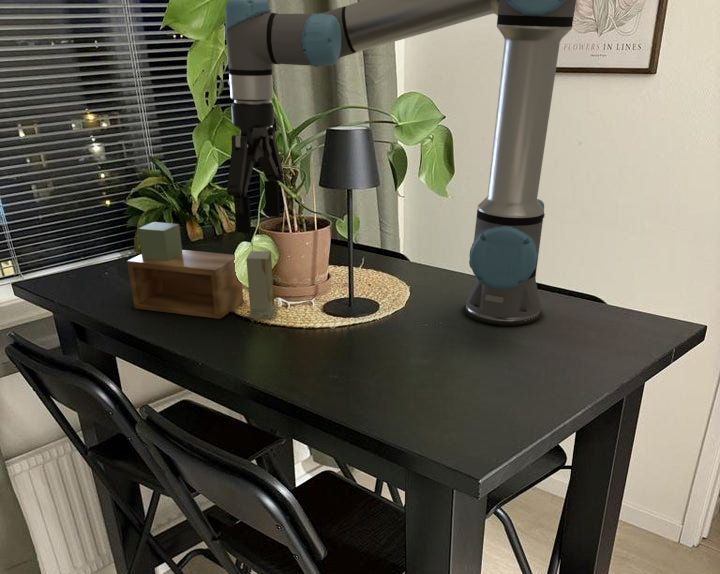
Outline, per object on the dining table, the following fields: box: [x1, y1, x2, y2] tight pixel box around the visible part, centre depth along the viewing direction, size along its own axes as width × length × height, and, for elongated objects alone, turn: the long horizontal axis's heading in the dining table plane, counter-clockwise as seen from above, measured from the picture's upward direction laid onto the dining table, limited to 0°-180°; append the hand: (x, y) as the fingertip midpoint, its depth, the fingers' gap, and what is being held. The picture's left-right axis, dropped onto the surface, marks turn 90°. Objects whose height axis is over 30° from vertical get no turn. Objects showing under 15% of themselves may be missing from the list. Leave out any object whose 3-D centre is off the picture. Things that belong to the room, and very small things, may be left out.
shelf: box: [126, 249, 244, 320], centre depth 158 cm, size 11×20×10 cm, turn 72°
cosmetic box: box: [245, 250, 275, 319], centre depth 153 cm, size 6×4×12 cm
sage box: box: [137, 221, 183, 261], centre depth 155 cm, size 6×6×6 cm
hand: (258, 224), depth 146 cm, fingers open, 13 cm apart
